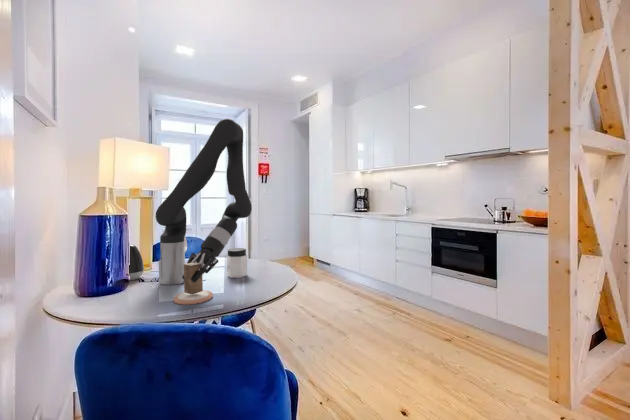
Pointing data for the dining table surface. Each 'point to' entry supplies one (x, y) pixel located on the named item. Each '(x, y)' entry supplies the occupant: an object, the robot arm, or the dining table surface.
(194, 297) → the terracotta dish
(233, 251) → the jar
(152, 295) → the dining table surface
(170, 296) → the dining table surface
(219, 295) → the dining table surface
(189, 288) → the walnut block
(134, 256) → the dark grey tapered dome
